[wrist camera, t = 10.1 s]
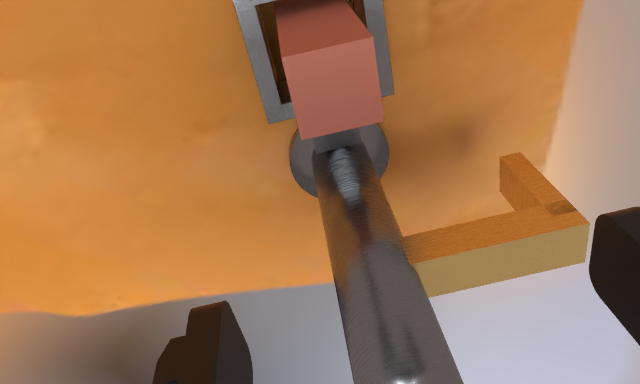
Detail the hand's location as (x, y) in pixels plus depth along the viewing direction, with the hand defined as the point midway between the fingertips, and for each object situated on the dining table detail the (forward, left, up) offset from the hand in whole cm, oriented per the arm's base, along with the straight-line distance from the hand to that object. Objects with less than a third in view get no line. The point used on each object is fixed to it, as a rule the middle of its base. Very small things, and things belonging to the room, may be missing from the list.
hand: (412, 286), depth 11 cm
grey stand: (+4, +3, -23) cm, 23 cm away
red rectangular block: (0, 0, -23) cm, 23 cm away
